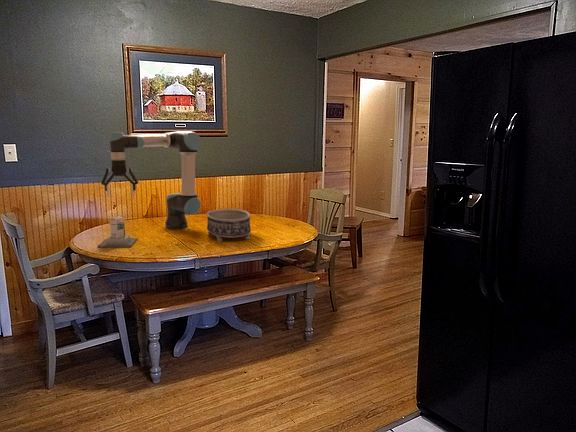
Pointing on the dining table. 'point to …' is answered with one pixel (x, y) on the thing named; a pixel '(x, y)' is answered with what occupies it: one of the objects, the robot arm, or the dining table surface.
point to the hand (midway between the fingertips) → (121, 196)
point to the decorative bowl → (229, 223)
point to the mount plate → (118, 242)
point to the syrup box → (117, 227)
